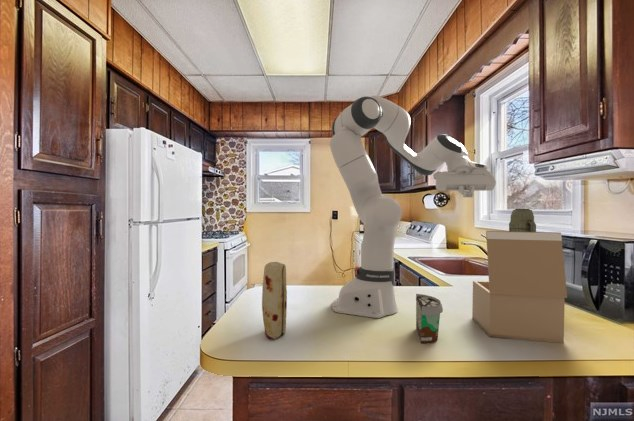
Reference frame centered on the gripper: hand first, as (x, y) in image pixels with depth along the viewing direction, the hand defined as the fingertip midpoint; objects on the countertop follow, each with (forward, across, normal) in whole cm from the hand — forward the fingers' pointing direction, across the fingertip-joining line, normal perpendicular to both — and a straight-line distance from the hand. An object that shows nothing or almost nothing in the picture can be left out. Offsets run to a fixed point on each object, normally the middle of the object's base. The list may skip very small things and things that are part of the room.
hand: (468, 196), depth 107 cm
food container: (+49, -18, +7) cm, 52 cm away
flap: (+31, +7, -4) cm, 32 cm away
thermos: (+18, +24, +38) cm, 49 cm away
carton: (+42, +7, +14) cm, 44 cm away
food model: (+54, -60, +2) cm, 81 cm away
